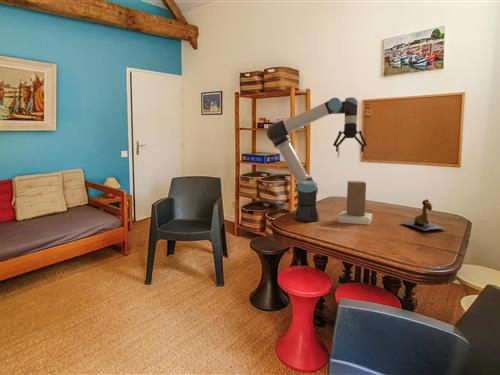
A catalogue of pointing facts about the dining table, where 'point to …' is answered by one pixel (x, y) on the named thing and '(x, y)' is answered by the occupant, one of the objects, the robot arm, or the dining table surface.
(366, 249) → the dining table surface
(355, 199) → the wooden block
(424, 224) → the stuffed giraffe
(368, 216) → the picture frame
